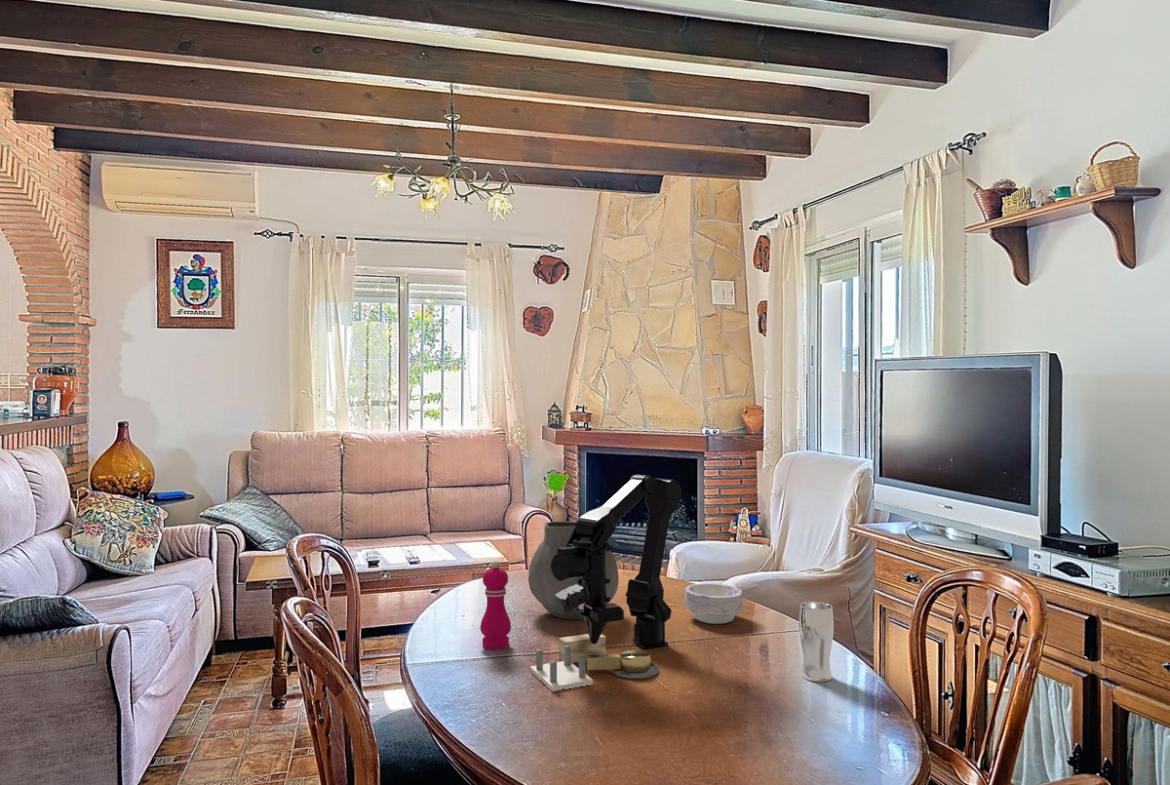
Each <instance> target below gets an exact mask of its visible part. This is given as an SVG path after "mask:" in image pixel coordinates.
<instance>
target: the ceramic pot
mask: <svg viewBox="0 0 1170 785" xmlns="http://www.w3.org/2000/svg"><path fill="white" fill-rule="evenodd" d="M576 522H577V521H568V520H567V521H564V520H563V521H561V520H560V521H547V522H545V524H544V535H543V540H542V542H540V544H539V546H537V549H536V550H535V552H534V554H533V556H532V558H531V560H530V563H529V567H528V578H527V580H528V586H529V587H528V588H529V590H530V592H531V594H532V595H533V596H534V598H535V599H536V601H538V602H539V603H540V604H541V605H542V606H543V608H544V609H545V610H546V611H547V612H548V613H550V615H553V616H555V617H557V618H562V619H567V620H581V619H583V620H584V618H583V617H582V616H581V615H580V614H579V613H578V612H576V610H577V609H579V606H577V607H575V608H573V609H572V610H571V611H569V612H565V611H564V610H563V609H560V608H559V605H558V602H557V599H556V596H555V594H557V593H558V592H560V591H562V590H564V589H566V588H568V587H570V586H573V585H576V579H577V578H572V579H568V580H564V581H559V580H557V579H556V578H555V577H554V575H553V573H552V571H551V562H552V559H553V557H554V556H555V555H556V554H557V549H558V548H567V546H566V545H567V542H568V540H569V538H570V536H571V534H572V532H573V530H574V528H575V526H576ZM580 541H582V540H580ZM582 542H587V541H582ZM587 543H592V542H587ZM606 577H608V578H610V583H607V584H606V595H607V596H609V597H610V602H612V599H613V598H614V597H615V595H616V593H617V592H618V588H619V578H620V577H619V568H618V565H617V561H616V558H615V556H614V554H613V552H612V551H607V552H606ZM610 602H605V604H608V603H610Z"/></svg>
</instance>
